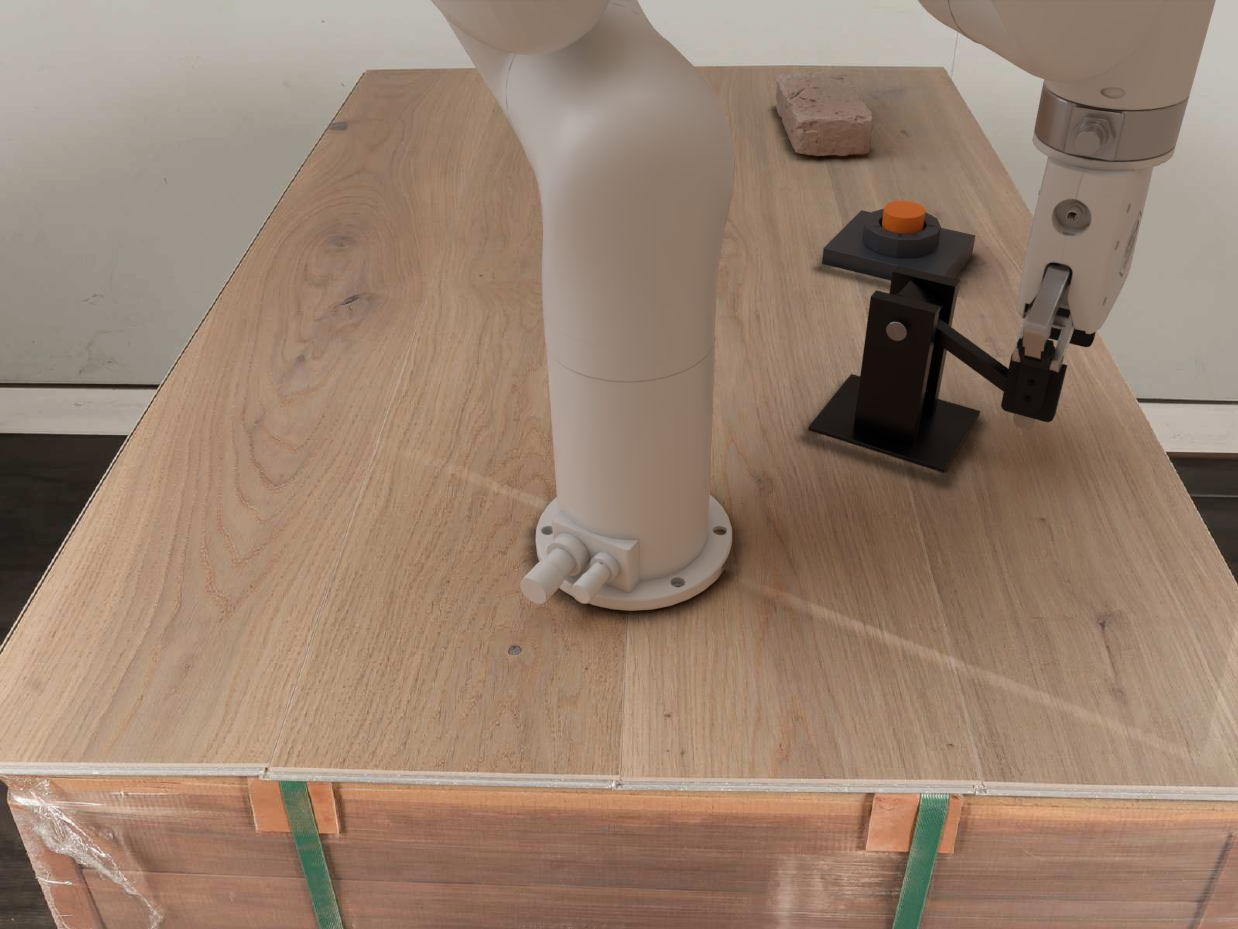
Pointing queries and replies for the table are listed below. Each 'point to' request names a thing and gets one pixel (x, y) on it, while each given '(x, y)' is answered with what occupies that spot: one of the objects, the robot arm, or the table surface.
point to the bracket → (902, 380)
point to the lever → (966, 350)
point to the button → (903, 217)
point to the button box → (897, 248)
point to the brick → (823, 114)
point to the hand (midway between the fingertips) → (1048, 375)
